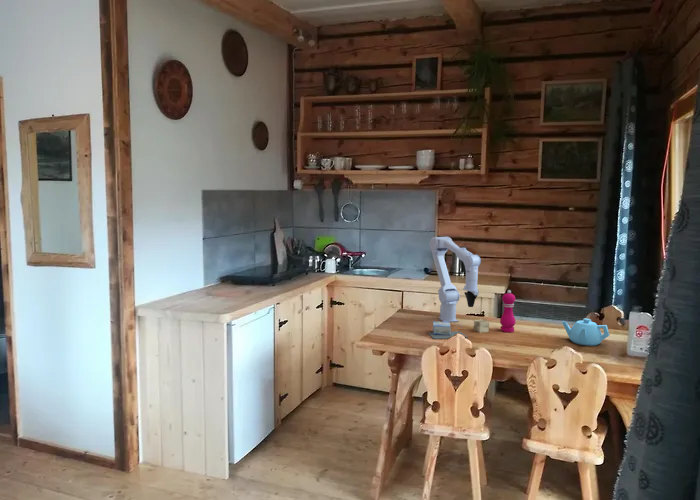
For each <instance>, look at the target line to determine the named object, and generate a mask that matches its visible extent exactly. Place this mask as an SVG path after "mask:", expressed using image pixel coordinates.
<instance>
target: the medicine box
mask: <svg viewBox="0 0 700 500" xmlns="http://www.w3.org/2000/svg"><path fill="white" fill-rule="evenodd" d="M451 326H452V325H451V322H443V321H434V320H433V321H432V332H433V334H434V335H451V332H452V330H451Z"/></svg>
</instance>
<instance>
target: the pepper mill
mask: <svg viewBox="0 0 700 500" xmlns="http://www.w3.org/2000/svg"><path fill="white" fill-rule="evenodd" d="M515 301H516V296H515V295H514V294H513V293H512V290H511V289H508V290H507V293H504V294H503V295H502V302H503V305H502V306H503V313H502V315H501V317H500V319H499V323H500V325H501V326H500V331H502V332H503V331H504V333H514V331H515V327H514V326H516V318H515V315H514V312H513V309H514V307H515Z"/></svg>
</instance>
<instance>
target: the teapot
mask: <svg viewBox="0 0 700 500" xmlns="http://www.w3.org/2000/svg"><path fill="white" fill-rule="evenodd" d="M561 323H562V325H563V327H564V329H565V332H566V334H567V336H568V338H569V340H570V341H571V342H572V343H574V344H576V345H580V346H587V347H588V346H590V347H591V346H592V347H593V346H598V345H599V344H601V343H602V342H603V340H605V339H607V338H608V337H609V336H610V332H609V329H608V325H607V324H602V325H601V324H599V325H598V324H597V323H596V322H593V321H592V319H590V318H586V317H585V318H583V319H582V320H577V321H575V322H574V324H573V325H572V326H571V327H570V325H569V324H568V323H567V321H565V320H562V321H561ZM601 329H603V334H602V330H601Z"/></svg>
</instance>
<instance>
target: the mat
mask: <svg viewBox="0 0 700 500" xmlns="http://www.w3.org/2000/svg"><path fill="white" fill-rule="evenodd" d="M457 333H460V334H462V335H464V336H465V337H466V338H465V339H468V336H467V335H465V334H464V333H463V332H462V331H457V330H456V331H451V335H434V334H433V331H431V332H430V331H429V332H427V335H428V336H430V338H432V339H433V340H449V339H448V338H450V337H452V336H454V335H455V334H457Z"/></svg>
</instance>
